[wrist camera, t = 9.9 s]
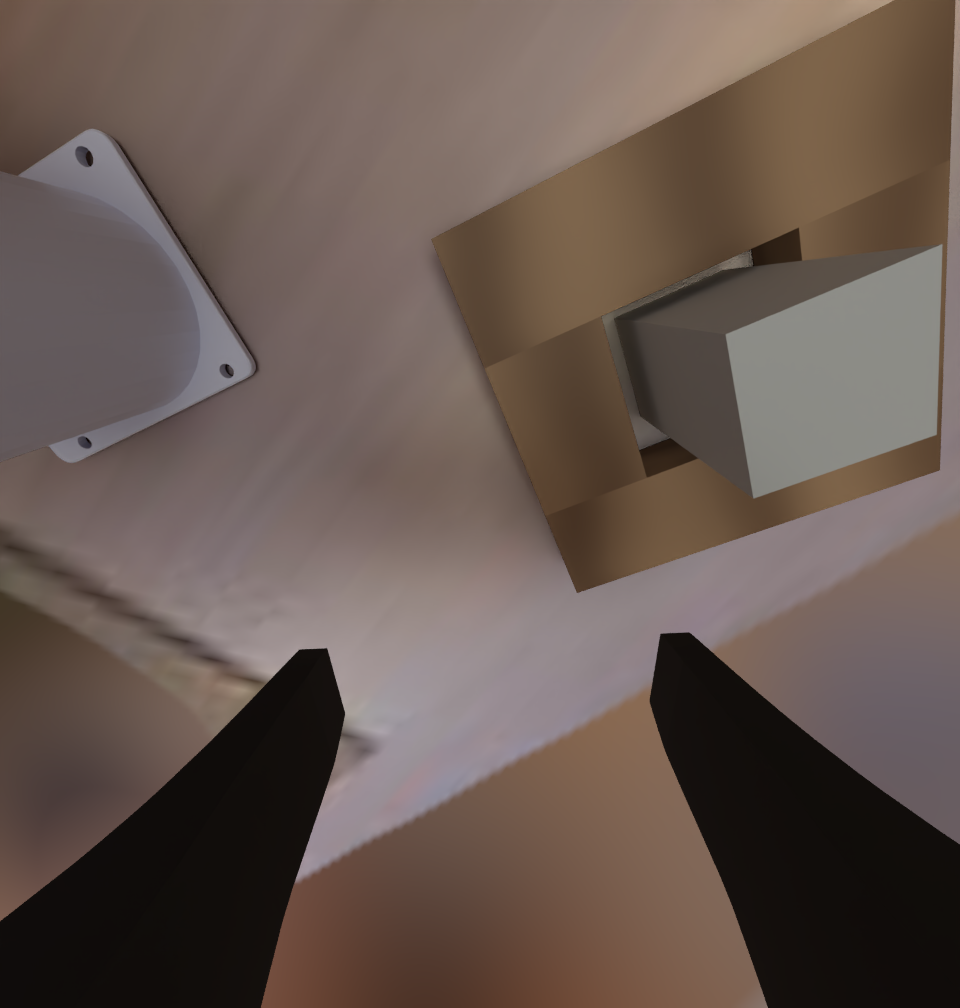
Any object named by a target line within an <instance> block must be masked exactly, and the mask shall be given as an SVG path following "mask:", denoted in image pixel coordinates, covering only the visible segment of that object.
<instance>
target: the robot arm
mask: <svg viewBox="0 0 960 1008" xmlns="http://www.w3.org/2000/svg"><path fill="white" fill-rule="evenodd" d="M88 151H90V152H91V154H92V156H93V164H92V166H91V167H90V166H89V165H88V163H87V161H86V153H87V152H88ZM226 364H228V365H230V366H231V367H232V368H233V370H234V375H233V376H230V375H229V374H228V373H227V372H226V370H225V365H226ZM255 370H256V366H255V362H254V360H253V358H252V356H251V355H250V353H249V351H248V350H247V348H246V347H245V345H244V343H243V342H242V340H241V339H240V337H239V335H238V334H237V332H236V331H235V329H234V328H233V326H232V324H231V323H230V321H229V320H228V318H227V316H226V315H225V313H224V312H223V310H222V309H221V307H220V305H219V304H218V302H217V301H216V299H215V297H214V296H213V294H212V293H211V291H210V290H209V288H208V286H207V285H206V283H205V282H204V280H203V278H202V277H201V275H200V274H199V272H198V271H197V269H196V267H195V266H194V264H193V263H192V261H191V259H190V258H189V256H188V255H187V253H186V251H185V250H184V248H183V247H182V245H181V244H180V242H179V240H178V239H177V237H176V236H175V234H174V232H173V231H172V229H171V228H170V226H169V225H168V223H167V221H166V220H165V218H164V217H163V215H162V213H161V212H160V210H159V209H158V207H157V206H156V204H155V202H154V201H153V199H152V198H151V196H150V194H149V193H148V191H147V190H146V188H145V186H144V185H143V183H142V182H141V180H140V179H139V177H138V175H137V174H136V172H135V171H134V169H133V167H132V166H131V164H130V163H129V161H128V160H127V158H126V156H125V155H124V153H123V152H122V150H121V148H120V147H119V145H118V144H117V143H116V141H115V140H114V139H113V138H112V137H111V136H109V135H108V134H106V133H104V132H102V131H99V130H96V129H88V130H85V131H84V132H82V133H81V134H79V135H78V136H76V137H75V138H73V139H72V140H70V141H69V142H67V143H66V144H64V145H63V146H61V147H60V148H58V149H57V150H55V151H54V152H52V153H51V154H49V155H48V156H46V157H45V158H43V159H42V160H40V161H39V162H37V163H36V164H34V165H33V166H31V167H30V168H28V169H27V170H25V171H24V172H22V173H21V174H19V175H18V176H16V175H13V174H9V173H5V172H1V171H0V462H2V461H5V460H8V459H11V458H14V457H17V456H20V455H23V454H25V453H28V452H31V451H34V450H37V449H40V448H43V447H46V446H49V447H50V448H51V449H52V450H53V452H54V453H55V454H56V455H57V456H58V457H59V458H60V459H62V460H63V461H65V462H68V463H75V462H78V461H80V460H83V459H85V458H87V457H89V456H91V455H93V454H95V453H97V452H99V451H101V450H103V449H105V448H107V447H109V446H111V445H113V444H115V443H117V442H119V441H121V440H123V439H125V438H127V437H129V436H131V435H133V434H135V433H137V432H139V431H141V430H144V429H146V428H148V427H150V426H152V425H154V424H156V423H158V422H160V421H162V420H164V419H166V418H168V417H170V416H172V415H174V414H176V413H178V412H180V411H182V410H184V409H186V408H188V407H190V406H192V405H194V404H196V403H198V402H200V401H202V400H204V399H206V398H208V397H210V396H212V395H214V394H216V393H218V392H220V391H222V390H224V389H226V388H228V387H230V386H232V385H234V384H236V383H238V382H241V381H243V380H245V379H247V378H249V377H250V376H252V375H253V374H254V372H255ZM86 437H87V438H88V439H89V440H90V441H91V443H92V445H91V444H89V443H88V442H87V440H86ZM650 704H651V708H652V711H653V714H654V718H655V721H656V724H657V727H658V731H659V733H660V736H661V740H662V743H663V746H664V749H665V752H666V754H667V756H668V759H669V761H670V763H671V766H672V768H673V770H674V773H675V775H676V777H677V780H678V782H679V784H680V786H681V789H682V791H683V793H684V795H685V798H686V800H687V802H688V805H689V807H690V809H691V811H692V814H693V816H694V818H695V820H696V822H697V825H698V827H699V829H700V832H701V834H702V836H703V838H704V841H705V843H706V845H707V847H708V850H709V852H710V854H711V856H712V859H713V861H714V863H715V865H716V868H717V870H718V872H719V875H720V877H721V879H722V882H723V884H724V887H725V889H726V892H727V894H728V897H729V899H730V902H731V904H732V906H733V909H734V912H735V914H736V918H737V920H738V923H739V926H740V929H741V932H742V934H743V937H744V940H745V943H746V946H747V948H748V951H749V954H750V957H751V960H752V962H753V965H754V968H755V971H756V974H757V977H758V980H759V983H760V985H761V988H762V991H763V994H764V997H765V1000H766V1003H767V1006H768V1008H960V844H958V843H957V842H955V841H954V840H952V839H951V838H949V837H947V836H946V835H945V834H943V833H942V832H940V831H939V830H937V829H936V828H935V827H933V826H932V825H930V824H929V823H927V822H926V821H925V820H923V819H922V818H920V817H919V816H917V815H916V814H915V813H913V812H912V811H910V810H909V809H908V808H906V807H905V806H903V805H902V804H900V803H899V802H897V801H896V800H895V799H893V798H892V797H890V796H889V795H888V794H886V793H885V792H883V791H882V790H880V789H879V788H878V787H877V786H875V785H874V784H872V783H871V782H870V781H868V780H867V779H866V778H864V777H863V776H862V775H860V774H859V773H857V772H856V771H855V770H853V769H852V768H851V767H850V766H848V765H847V764H846V763H844V762H843V761H842V760H841V759H839V758H838V757H837V756H836V755H834V754H833V753H832V752H830V751H829V750H828V749H826V748H825V747H824V746H823V745H821V744H820V743H819V742H817V741H816V740H814V738H812V737H811V736H810V735H809V734H807V733H806V732H805V731H804V730H802V729H801V728H800V727H799V726H798V725H796V724H795V723H794V722H792V721H791V720H790V719H789V718H788V717H787V716H785V715H784V714H783V713H782V712H780V711H779V710H778V709H777V708H776V707H775V706H773V705H772V704H771V703H770V702H769V701H767V700H766V699H765V698H764V697H763V696H761V695H760V694H759V693H758V692H757V691H756V690H755V689H753V688H752V687H751V686H750V685H749V684H748V683H746V682H745V681H744V680H743V679H742V678H741V677H740V676H738V675H737V674H736V673H735V672H734V671H733V670H731V669H730V668H729V667H728V666H727V665H726V664H725V663H724V662H722V661H721V660H720V659H719V658H718V657H717V656H716V655H714V654H713V653H712V652H711V651H710V650H709V649H708V648H707V647H706V646H704V645H703V644H702V643H701V642H700V641H699V640H698V639H696V638H695V637H694V636H693V635H692V634H691V633H667V634H660V640H659V646H658V652H657V659H656V665H655V671H654V677H653V683H652V689H651V695H650ZM344 717H345V711H344V708H343V704H342V700H341V697H340V693H339V690H338V686H337V682H336V679H335V675H334V672H333V668H332V664H331V661H330V657H329V653H328V650H327V648H325V649H302V650H299V651H298V652H297V653H296V654H295V655H294V656H293V657H292V658H291V659H290V660H289V661H288V662H287V663H286V664H285V665H284V666H283V667H282V668H281V669H280V670H279V671H278V672H277V673H276V674H275V675H274V677H273V678H272V679H271V680H270V681H269V682H268V683H267V684H266V685H265V686H264V687H263V688H262V689H261V690H260V691H259V692H258V693H257V694H256V695H255V696H254V698H253V699H252V700H251V701H250V702H249V703H248V704H247V705H246V706H245V707H244V708H243V709H242V710H241V711H240V712H239V713H238V714H237V715H236V716H235V717H234V718H233V719H232V720H231V721H230V722H229V723H228V724H227V725H226V726H225V727H224V728H223V729H222V730H221V731H220V732H219V733H218V734H217V735H216V736H215V737H214V738H213V739H212V740H211V741H210V742H209V743H208V744H207V745H206V746H205V747H204V748H203V749H202V750H201V751H200V752H199V753H198V754H197V755H196V756H195V757H194V758H193V759H192V760H191V761H189V762H188V763H187V764H186V765H185V766H184V767H183V768H182V769H181V770H180V771H179V772H178V773H177V774H176V775H175V776H174V777H173V778H172V779H171V780H170V781H169V782H167V783H166V784H165V785H164V786H163V787H162V788H161V789H160V790H159V791H158V792H157V793H156V794H155V795H153V796H152V797H151V798H150V799H149V800H148V801H147V802H146V803H145V804H143V805H142V806H141V807H140V808H139V809H138V810H137V811H136V812H134V813H133V814H132V815H131V816H130V817H129V818H128V819H126V820H125V821H124V822H123V823H122V824H121V825H119V826H118V827H117V828H116V829H115V830H113V831H112V832H111V833H110V834H109V835H108V836H106V837H105V838H104V839H103V840H102V841H100V842H99V843H98V844H97V845H96V846H95V847H93V848H92V849H91V850H90V851H89V852H87V853H86V854H85V855H84V856H83V857H81V858H80V859H79V860H78V861H76V862H75V863H74V864H73V865H72V866H70V867H69V868H68V869H66V870H65V871H64V872H63V873H62V874H60V875H59V876H58V877H56V878H55V879H54V880H52V881H51V882H50V883H49V884H47V885H46V886H45V887H43V888H42V889H41V890H40V891H38V892H37V893H36V894H34V895H33V896H32V897H31V898H29V899H28V900H27V901H26V902H24V903H23V904H22V905H21V906H19V907H18V908H17V909H15V910H14V911H13V912H12V913H10V914H9V915H8V916H6V917H5V918H4V919H3V920H1V921H0V1008H261V1004H262V1000H263V996H264V992H265V988H266V984H267V980H268V976H269V972H270V968H271V965H272V961H273V957H274V953H275V949H276V945H277V941H278V937H279V933H280V929H281V925H282V921H283V918H284V915H285V911H286V908H287V905H288V902H289V898H290V895H291V891H292V888H293V885H294V882H295V880H296V877H297V874H298V871H299V868H300V865H301V862H302V859H303V856H304V853H305V850H306V847H307V844H308V841H309V838H310V835H311V832H312V829H313V826H314V823H315V820H316V817H317V815H318V812H319V809H320V806H321V803H322V800H323V797H324V794H325V791H326V788H327V785H328V782H329V778H330V775H331V772H332V769H333V766H334V763H335V758H336V754H337V750H338V745H339V741H340V736H341V731H342V727H343V722H344Z"/></svg>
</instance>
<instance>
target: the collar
mask: <svg viewBox="0 0 960 1008" xmlns="http://www.w3.org/2000/svg"><path fill="white" fill-rule="evenodd" d="M954 25H955V0H894V1H892V2H890V3H888V4H886V5H884V6H882V7H881V8H879V9H877V10H875V11H873V12H871V13H869V14H867V15H865V16H863V17H861V18H859V19H857V20H855V21H853V22H851V23H850V24H848V25H846V26H844V27H842V28H840V29H838V30H836V31H834V32H832V33H830V34H828V35H826V36H824V37H822V38H820V39H819V40H817V41H815V42H813V43H811V44H809V45H807V46H805V47H803V48H801V49H799V50H797V51H795V52H793V53H791V54H789V55H788V56H786V57H784V58H782V59H780V60H778V61H776V62H774V63H772V64H770V65H768V66H766V67H764V68H762V69H760V70H758V71H756V72H755V73H753V74H751V75H749V76H747V77H745V78H743V79H741V80H739V81H737V82H735V83H733V84H731V85H729V86H727V87H725V88H724V89H722V90H720V91H718V92H716V93H714V94H712V95H710V96H708V97H706V98H704V99H702V100H700V101H698V102H696V103H694V104H693V105H691V106H689V107H687V108H685V109H683V110H681V111H679V112H677V113H675V114H673V115H671V116H669V117H667V118H665V119H663V120H662V121H660V122H658V123H656V124H654V125H652V126H650V127H648V128H646V129H644V130H642V131H640V132H638V133H636V134H634V135H632V136H630V137H629V138H627V139H625V140H623V141H621V142H619V143H617V144H615V145H613V146H611V147H609V148H607V149H605V150H603V151H601V152H599V153H598V154H596V155H594V156H592V157H590V158H588V159H586V160H584V161H582V162H580V163H578V164H576V165H574V166H572V167H570V168H568V169H567V170H565V171H563V172H561V173H559V174H557V175H555V176H553V177H551V178H549V179H547V180H545V181H543V182H541V183H539V184H537V185H535V186H534V187H532V188H530V189H528V190H526V191H524V192H522V193H520V194H518V195H516V196H514V197H512V198H510V199H508V200H506V201H504V202H503V203H501V204H499V205H497V206H495V207H493V208H491V209H489V210H487V211H485V212H483V213H481V214H479V215H477V216H475V217H473V218H472V219H470V220H468V221H466V222H464V223H462V224H460V225H458V226H456V227H454V228H452V229H450V230H448V231H446V232H444V233H442V234H441V235H439V236H437V237H435V238H433V239H431V240H432V242H433V245H434V247H435V250H436V252H437V254H438V257H439V259H440V262H441V264H442V267H443V269H444V271H445V274H446V276H447V279H448V281H449V283H450V286H451V288H452V291H453V293H454V296H455V298H456V300H457V303H458V305H459V308H460V310H461V313H462V315H463V317H464V320H465V322H466V325H467V327H468V330H469V332H470V334H471V337H472V339H473V342H474V344H475V347H476V349H477V351H478V354H479V356H480V359H481V361H482V364H483V366H484V368H485V371H486V373H487V376H488V378H489V381H490V383H491V385H492V388H493V390H494V393H495V395H496V398H497V400H498V402H499V405H500V407H501V410H502V412H503V414H504V417H505V419H506V422H507V424H508V427H509V429H510V431H511V434H512V436H513V439H514V441H515V444H516V446H517V448H518V451H519V453H520V456H521V458H522V461H523V463H524V465H525V468H526V470H527V473H528V475H529V478H530V480H531V482H532V485H533V487H534V490H535V492H536V495H537V497H538V499H539V502H540V504H541V507H542V509H543V512H544V514H545V516H546V519H547V521H548V524H549V526H550V529H551V531H552V533H553V536H554V538H555V541H556V543H557V545H558V548H559V550H560V553H561V555H562V558H563V560H564V562H565V565H566V567H567V570H568V572H569V575H570V577H571V579H572V582H573V584H574V587H575V589H576V592H577V593H578V592H581V591H584V590H587V589H590V588H593V587H596V586H599V585H602V584H605V583H608V582H611V581H614V580H617V579H620V578H623V577H626V576H629V575H632V574H635V573H637V572H640V571H643V570H646V569H649V568H652V567H655V566H658V565H661V564H664V563H667V562H670V561H673V560H676V559H679V558H682V557H685V556H688V555H691V554H694V553H697V552H700V551H703V550H705V549H708V548H711V547H714V546H717V545H720V544H723V543H726V542H729V541H732V540H735V539H738V538H741V537H744V536H747V535H750V534H753V533H756V532H759V531H762V530H765V529H768V528H770V527H773V526H776V525H779V524H782V523H785V522H788V521H791V520H794V519H797V518H800V517H803V516H806V515H809V514H812V513H815V512H818V511H821V510H824V509H827V508H830V507H833V506H836V505H838V504H841V503H844V502H847V501H850V500H853V499H856V498H859V497H862V496H865V495H868V494H871V493H874V492H877V491H880V490H883V489H886V488H889V487H892V486H895V485H898V484H901V483H903V482H906V481H909V480H912V479H915V478H918V477H921V476H924V475H927V474H930V473H933V472H936V471H939V470H940V449H941V419H942V389H943V358H944V328H945V298H946V267H947V237H948V207H949V176H950V146H951V116H952V85H953V55H954ZM939 244H942V276H941V309H940V342H939V374H938V407H937V435H934V436H932V437H929V438H926V439H923V440H920V441H917V442H914V443H912V444H909V445H906V446H903V447H900V448H897V449H894V450H891V451H889V452H886V453H883V454H880V455H877V456H874V457H871V458H869V459H866V460H863V461H860V462H857V463H854V464H851V465H848V466H846V467H843V468H840V469H837V470H834V471H831V472H828V473H826V474H823V475H820V476H817V477H814V478H811V479H808V480H805V481H803V482H800V483H797V484H794V485H791V486H788V487H785V488H783V489H780V490H777V491H774V492H771V493H768V494H765V495H762V496H760V497H757V498H754V499H753V498H752V497H751V496H749V495H748V494H747V493H745V492H744V491H742V490H741V489H740V488H738V487H737V486H736V485H734V484H733V483H731V482H730V481H729V480H727V479H726V478H725V477H723V476H722V475H720V474H719V473H718V472H716V471H715V470H714V469H712V468H711V467H709V466H708V465H707V464H705V463H704V462H703V461H701V460H700V459H699V458H697V457H696V456H694V455H693V454H692V453H690V452H689V451H688V450H686V449H685V448H683V447H682V446H681V445H679V444H678V443H677V442H675V441H674V440H672V439H668V440H665V441H663V442H660V443H658V444H655V445H652V446H650V447H647V448H645V449H642V450H640V451H639V448H638V445H637V441H636V438H635V434H634V431H633V427H632V424H631V420H630V417H629V413H628V410H627V406H626V403H625V399H624V396H623V392H622V389H621V385H620V382H619V378H618V375H617V371H616V368H615V364H614V361H613V357H612V354H611V350H610V347H609V343H608V340H607V336H606V333H605V329H604V325H603V322H602V318H601V316H603V315H605V314H607V313H609V312H612V311H614V310H616V309H618V308H620V307H623V306H625V305H627V304H629V303H632V302H634V301H636V300H638V299H641V298H643V297H645V296H647V295H649V294H652V293H654V292H656V291H658V290H661V289H663V288H665V287H667V286H670V285H672V284H674V283H676V282H678V281H681V280H683V279H685V278H687V277H690V276H692V275H694V274H696V273H699V272H701V271H703V270H705V269H707V268H710V267H712V266H714V265H716V264H719V263H721V262H723V261H725V260H728V259H730V258H732V257H734V256H736V255H739V254H741V253H743V252H745V251H748V250H750V249H752V254H753V261H754V266H761V265H770V264H778V263H787V262H795V261H803V260H812V259H820V258H829V257H837V256H846V255H854V254H863V253H871V252H880V251H888V250H897V249H905V248H913V247H922V246H930V245H939Z"/></svg>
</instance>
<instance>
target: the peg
mask: <svg viewBox="0 0 960 1008" xmlns="http://www.w3.org/2000/svg"><path fill="white" fill-rule="evenodd" d="M941 276H942V244H939V245H930V246H922V247H913V248H905V249H897V250H888V251H880V252H871V253H863V254H854V255H846V256H837V257H829V258H820V259H812V260H803V261H795V262H787V263H778V264H770V265H761V266H753V267H744V268H736V269H727V270H722V271H720V272H718V273H716V274H713V275H711V276H709V277H706V278H704V279H702V280H700V281H697V282H695V283H693V284H691V285H688V286H686V287H684V288H682V289H679V290H677V291H675V292H673V293H670V294H668V295H666V296H663V297H661V298H659V299H657V300H654V301H652V302H650V303H648V304H645V305H643V306H641V307H639V308H636V309H634V310H632V311H630V312H627V313H625V314H623V315H621V316H618V317H616V318H614V319H615V323H616V327H617V330H618V334H619V338H620V342H621V345H622V349H623V353H624V356H625V360H626V364H627V367H628V371H629V375H630V378H631V382H632V386H633V390H634V393H635V397H636V401H637V404H638V408H639V412H640V415H641V417H642V418H644V419H645V420H646V421H648V422H649V423H651V424H652V425H653V426H655V427H656V428H657V429H659V430H660V431H662V432H663V433H664V434H666V435H667V436H668V437H670V438H671V439H672V440H674V441H675V442H677V443H678V444H679V445H681V446H682V447H683V448H685V449H686V450H688V451H689V452H690V453H692V454H693V455H694V456H696V457H697V458H699V459H700V460H701V461H703V462H704V463H705V464H707V465H708V466H709V467H711V468H712V469H714V470H715V471H716V472H718V473H719V474H720V475H722V476H723V477H725V478H726V479H727V480H729V481H730V482H731V483H733V484H734V485H736V486H737V487H738V488H740V489H741V490H742V491H744V492H745V493H747V494H748V495H749V496H751V497H752V498H753V499H754V498H757V497H760V496H762V495H765V494H768V493H771V492H774V491H777V490H780V489H783V488H785V487H788V486H791V485H794V484H797V483H800V482H803V481H805V480H808V479H811V478H814V477H817V476H820V475H823V474H826V473H828V472H831V471H834V470H837V469H840V468H843V467H846V466H848V465H851V464H854V463H857V462H860V461H863V460H866V459H869V458H871V457H874V456H877V455H880V454H883V453H886V452H889V451H891V450H894V449H897V448H900V447H903V446H906V445H909V444H912V443H914V442H917V441H920V440H923V439H926V438H929V437H932V436H934V435H937V407H938V374H939V342H940V309H941Z"/></svg>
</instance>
